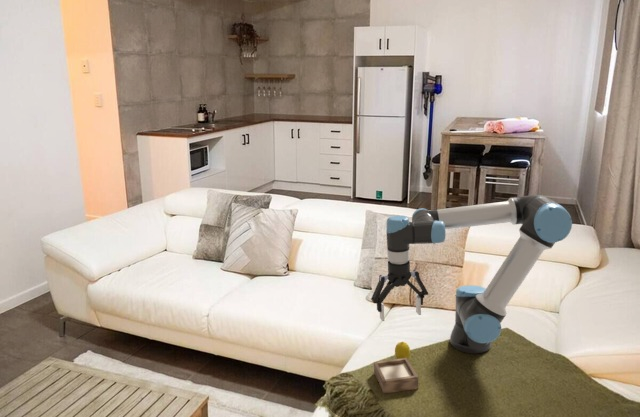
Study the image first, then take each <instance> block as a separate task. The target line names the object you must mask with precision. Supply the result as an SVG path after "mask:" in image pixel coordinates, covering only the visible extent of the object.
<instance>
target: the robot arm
mask: <svg viewBox="0 0 640 417" xmlns="http://www.w3.org/2000/svg"><path fill="white" fill-rule="evenodd" d="M409 220H410V219H409V218H408V217H407V216H406V215H399V214H398V215H392V216H390V217H388V218H387V219H386V247H387V248H386V250H387V272H388V273H387V275H383V274H379V278H378V282H377V285H376V287H375V289H374V291H373V294H372V296H371V298H370V300H371V301H372V303H373V304H376V310H377V311H378V313H379V318H380V320H381V322H385V304H384V303H383V302H384V300H385V299H386V298H387V297H388V295H389V293H390V292H391V291H392V290H393V289H394V288H395V287H396V288H399V287H404V286H406V285H407V286H409V287H410V288H411V289H412V290H413V291H414V292H415V293H416V295H415V313H416V314H417V315H418V316H421V315H422V307H421V306H423V305H424V298H425V296H428V295H429V292H428V289H427V288H426V286H425V285H424V283H423V281H422V280H421V277H420V273H419V271H418V270H417V269H413V270H412V271H411V262H410V260H411V256H410V245H418V244H419V245H422V244H424V245H425V244H426V245H427V244H429V245H430V244H435V245H436V244H441V243H444V242H445V241H446V236H447V234H446V230H451V229H459V228H460V229H461V228H470V227H478V226H479V227H480V226H486V225H489V226H490V225H497V224H505V223H510V224H512V225H521V226H520V227H519V230H518V231H519V235H520V236H519V237H518V239H517V241H516V242H515V244H514V245H513V247H512V249H511V250H510V251H509V253H508V255H507V257H506V258H505V259H504V260H503V262H502V264H500V267H499V268H498V270H497V271H496V273H495V274H494V276H493V277H492V279H491V281H489V284H488V285H487V287H483V286H480V285H471V284H470V285H469V284H468V285H462V286H458V287H457V289H456V290H455V295H454V296H455V313H454V315H455V320H454V322H455V323H454V325H453V328H452V330H451V333H450V337H449V339H450V341H449V343H450V344H451V347H453V348H454V349H455V348H456V349H455V350H457V351H460V352H462V353H467V354H483V353H485V352H488V351H489V350H490V349H491V347H492V342H494V341H496V340H498V338H499V337H500V335H501V332H502V322H503V320H504V319H505V317H506V316H507V311H506V310H507V309H506V307H507V306H508V305H509V303H510V301H511V300H512V299H513V297H514V296H515V294H516V293H517V291H518V289H520V287H521V285H522V283H523V282H524V281H525V280H526V278H527V276H528V275H529V273H530V272H531V270H532V269H533V268H534V266H535V264H536V263H537V261H538V260H539V259H540V257H541V255H542V254H543V252H545V250H550V249H552V248H553V246H554V245H555V244H556V243H557V242H560V241H564V239H566V238H567V237H568V236H569V234H570V232H571V230H572V226H573V220H572V216H571V215H570V213H569V211H567V209H566V208H565V207H564V206H562V205H561V204H560V203H557V202H556V201H555V200H553V199H552V198H550V197H549V196H547V195H540V194H532V195H523V196H515V197H509V198H508V200H504V201H499V202H498V201H497V202H490V203H481V204H474V205H463V206H457V207H449V208H441V209H440V208H438V209H430V210H429V209H426V208H418V209H416V210H414V212H413V213H412V215H411V221H409ZM411 277H412V278H414V279H415V281H416V283H417V285H418V286H419V287H420V289H421V291H420V290H419V289H418V288H417V287H416V286H415V285H414V284H413V283H412V282H411V281H410V279H411ZM385 283H386V284H385ZM385 285H386V286H385ZM384 286H385V287H384Z"/></svg>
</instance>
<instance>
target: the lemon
mask: <svg viewBox="0 0 640 417" xmlns="http://www.w3.org/2000/svg"><path fill="white" fill-rule="evenodd" d="M394 355H395V359H401V358H407V359H408V360H409V358H410V357H411V348H410V346H409V344H408V343H407V342H404V341H400V342H398V343H397V344H396V345H395V348H394Z"/></svg>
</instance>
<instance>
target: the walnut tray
mask: <svg viewBox="0 0 640 417" xmlns="http://www.w3.org/2000/svg"><path fill="white" fill-rule="evenodd" d="M374 373H375V374H374ZM373 374H374V375H376V376H375V379H376V381H377V382H379V383H378V384H379V387H380V389H381V391H382V393H383V394H390V393H396V392H405V391H410V390H418V389H419V376H418V374H417V372H416V370H415V369H414V367H413V366H412V364H411V362H410V361H409V358H408V359H407V358H401V359H397V358H395V359H387V360H386V359H385V360H380V361H373Z"/></svg>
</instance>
